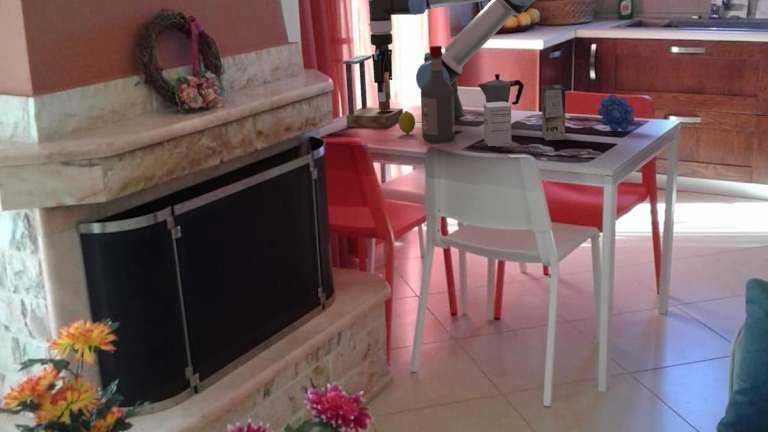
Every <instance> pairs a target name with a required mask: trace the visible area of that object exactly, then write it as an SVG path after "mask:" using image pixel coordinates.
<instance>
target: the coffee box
mask: <svg viewBox="0 0 768 432" xmlns="http://www.w3.org/2000/svg"><path fill="white" fill-rule="evenodd" d="M541 136H542V137H543V138H544V140H545V141H554V140H555V141H556V140H557V141H558V140H565V139H566V88H565V87H564V86H563V85H562V84H560V83H559V84H544V85H541Z"/></svg>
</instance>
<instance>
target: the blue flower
mask: <svg viewBox="0 0 768 432" xmlns="http://www.w3.org/2000/svg"><path fill="white" fill-rule="evenodd" d="M599 104H600V107H598V109H597V110H596V111H597V114H598V116H600V117H601V119H600V121H601V123H602V125H604V126H606V127H607V126H609V128H610V130H611V131H613V132H617V131H619V130H621V131H625V132H626V131H628V130H629V125H631V124H634V123H635V117H634V115H633V114H634V111H635V109H634V107H633V105H631V104H628V99H626V97H624V96H620V97H617V95H615V94H613V93H611V94H609V95H608V97H607V98H604V97H603V98H602V99H600V101H599Z"/></svg>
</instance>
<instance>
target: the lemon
mask: <svg viewBox="0 0 768 432" xmlns="http://www.w3.org/2000/svg"><path fill="white" fill-rule="evenodd" d="M398 126H399V130H400V131H401V132H402V133H404V134H405V135H409V134H410V133H412V132H413V131H414V130H415V127H416V118H415V116H414V114H413V113H412V112H410V111H408V110H405V111H403V113H402V114H401V115H400V117H399V122H398Z"/></svg>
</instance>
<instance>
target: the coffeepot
mask: <svg viewBox="0 0 768 432" xmlns="http://www.w3.org/2000/svg"><path fill="white" fill-rule="evenodd" d="M500 75H501V74H500V73H496V74H494V76H495V79H492V80H489V81H485V82H482V83H478V84H477V87H479V89H480V90H481V91H482V93H483V95H484V96H485V97H484V98H485V103H490V102H507V103H508V104H509V102H510V96H511V95H510V94H511V88H512V87H516V86H518V88H517V93H516V95H515V100H514V101H511V104H512V105H514V106H516V105H518V104H520V103H519V102H520V99H521V97H522V93H523V91H524V87H525V85H524V83H523V82H522V81H521V80H520V79H514V80H504V79H500ZM511 127H512V124H511Z"/></svg>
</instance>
